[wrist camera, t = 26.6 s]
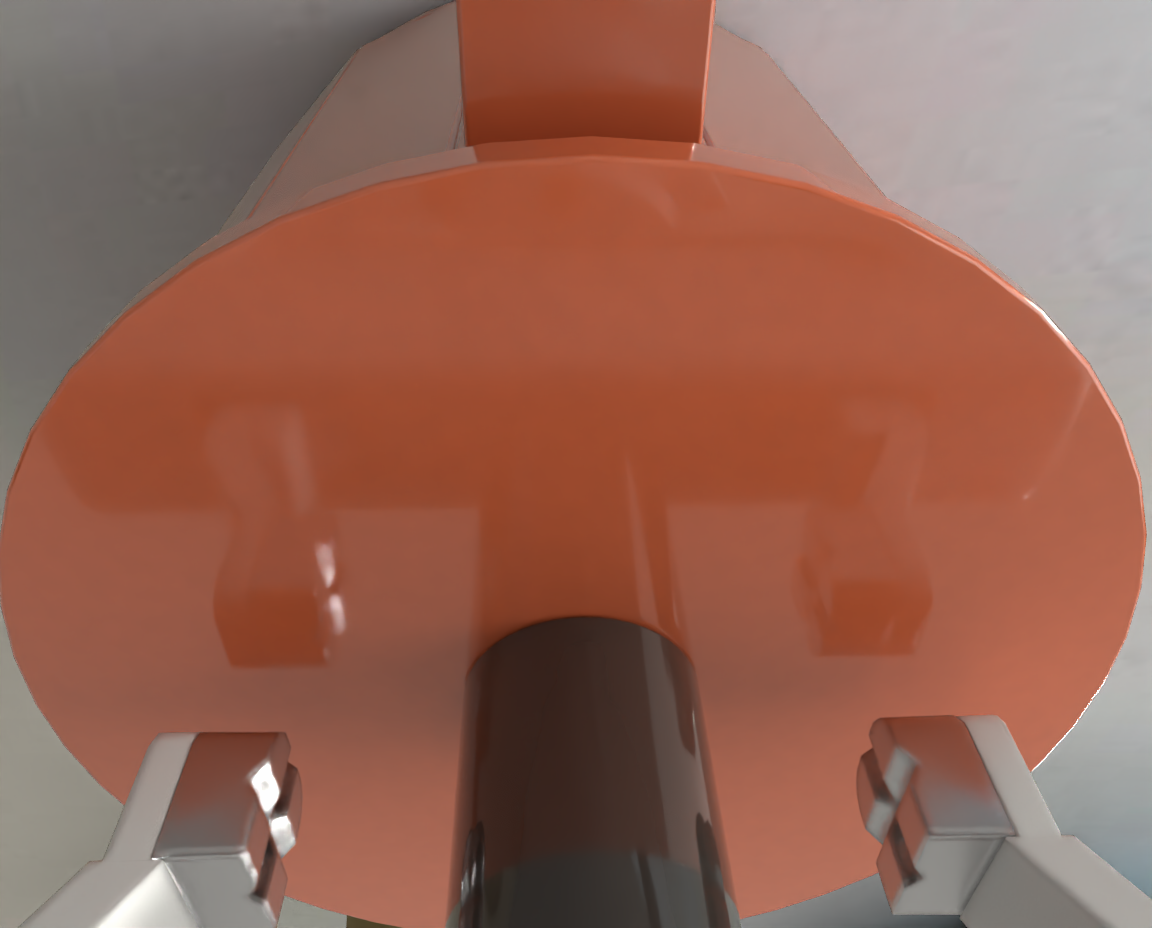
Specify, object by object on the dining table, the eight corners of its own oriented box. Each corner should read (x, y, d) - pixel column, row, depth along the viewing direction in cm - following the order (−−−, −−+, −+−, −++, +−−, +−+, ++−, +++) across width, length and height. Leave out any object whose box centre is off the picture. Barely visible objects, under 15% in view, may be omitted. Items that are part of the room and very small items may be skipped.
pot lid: (197, 889, 17) (77, 1280, 13) (-191, 112, 8) (-1040, 503, 4) (938, 869, 18) (1073, 1238, 13) (1323, 116, 9) (2127, 464, 4)
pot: (332, 594, 26) (238, 969, 18) (156, -203, 15) (-327, -176, 7) (785, 587, 27) (895, 948, 19) (957, -192, 15) (1455, -155, 7)
